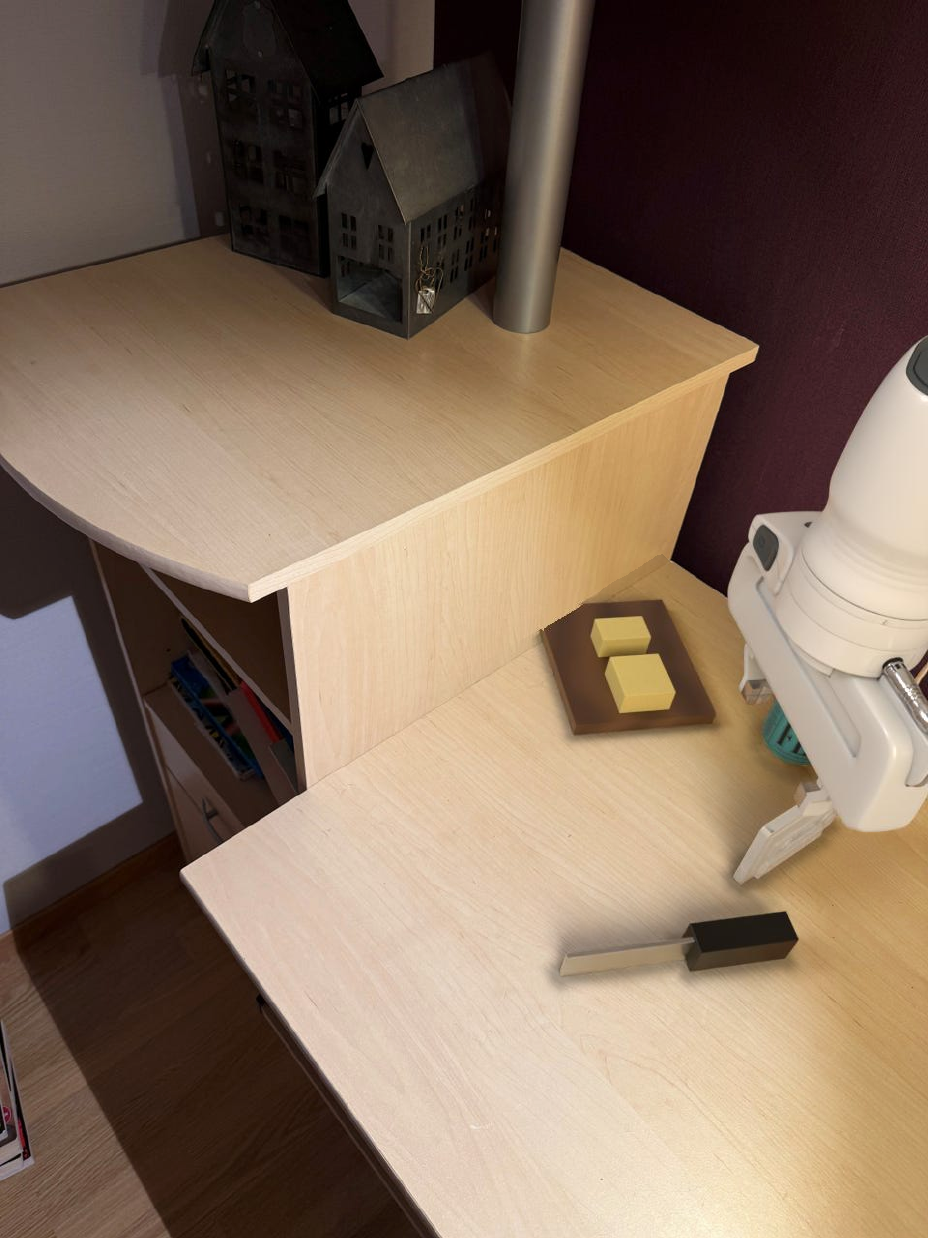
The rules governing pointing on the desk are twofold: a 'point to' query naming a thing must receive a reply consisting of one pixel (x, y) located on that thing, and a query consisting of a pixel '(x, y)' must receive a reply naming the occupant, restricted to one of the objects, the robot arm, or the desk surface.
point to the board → (586, 671)
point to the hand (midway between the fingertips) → (778, 749)
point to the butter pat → (620, 636)
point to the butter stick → (639, 683)
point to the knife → (699, 946)
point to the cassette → (781, 841)
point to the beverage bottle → (782, 737)
